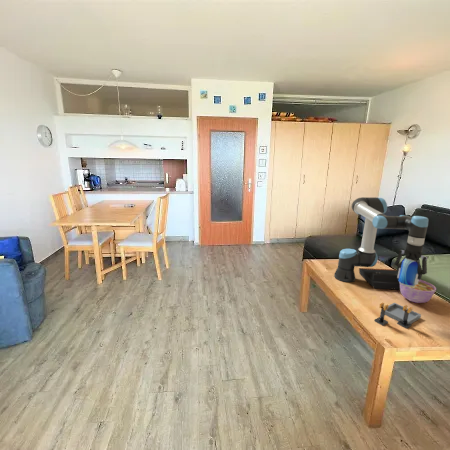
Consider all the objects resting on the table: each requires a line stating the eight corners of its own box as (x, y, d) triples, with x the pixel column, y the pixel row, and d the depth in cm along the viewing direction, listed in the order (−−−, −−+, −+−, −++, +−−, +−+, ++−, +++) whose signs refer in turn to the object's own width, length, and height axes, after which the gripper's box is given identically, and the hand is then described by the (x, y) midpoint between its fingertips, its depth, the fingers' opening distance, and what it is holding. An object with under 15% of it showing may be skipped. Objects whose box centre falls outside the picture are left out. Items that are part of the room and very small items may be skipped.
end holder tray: (380, 312, 157) (381, 309, 157) (393, 306, 165) (394, 302, 164) (407, 326, 145) (408, 322, 144) (420, 318, 152) (421, 314, 151)
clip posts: (374, 321, 149) (377, 303, 146) (387, 314, 156) (390, 297, 153) (398, 333, 138) (402, 315, 135) (411, 325, 145) (415, 308, 142)
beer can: (407, 288, 144) (413, 262, 140) (394, 281, 152) (399, 256, 148) (419, 286, 147) (424, 260, 143) (405, 280, 155) (410, 255, 151)
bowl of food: (398, 289, 186) (401, 274, 183) (433, 298, 174) (436, 283, 171) (394, 300, 171) (397, 284, 168) (432, 311, 159) (436, 294, 156)
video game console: (394, 276, 208) (396, 265, 206) (413, 291, 184) (415, 279, 182) (357, 274, 211) (359, 263, 209) (371, 289, 187) (374, 276, 184)
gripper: (391, 239, 150) (385, 275, 156) (434, 250, 133) (425, 290, 138) (398, 237, 154) (391, 272, 160) (440, 248, 136) (431, 286, 142)
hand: (407, 280), depth 149 cm, fingers closed on beer can, 8 cm apart
